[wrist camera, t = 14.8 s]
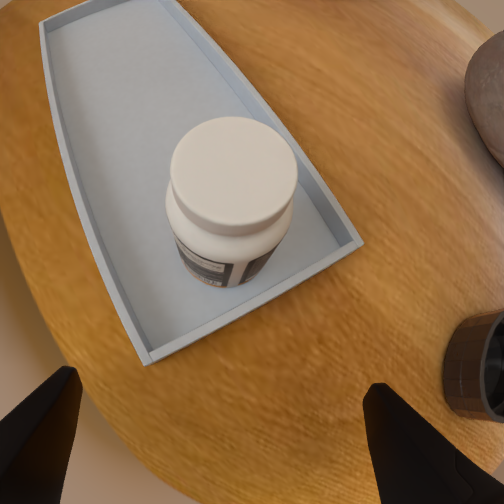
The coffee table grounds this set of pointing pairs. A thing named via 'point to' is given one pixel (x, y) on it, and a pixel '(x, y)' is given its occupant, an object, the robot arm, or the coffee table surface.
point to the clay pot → (488, 94)
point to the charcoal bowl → (477, 368)
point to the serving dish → (164, 165)
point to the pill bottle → (230, 198)
